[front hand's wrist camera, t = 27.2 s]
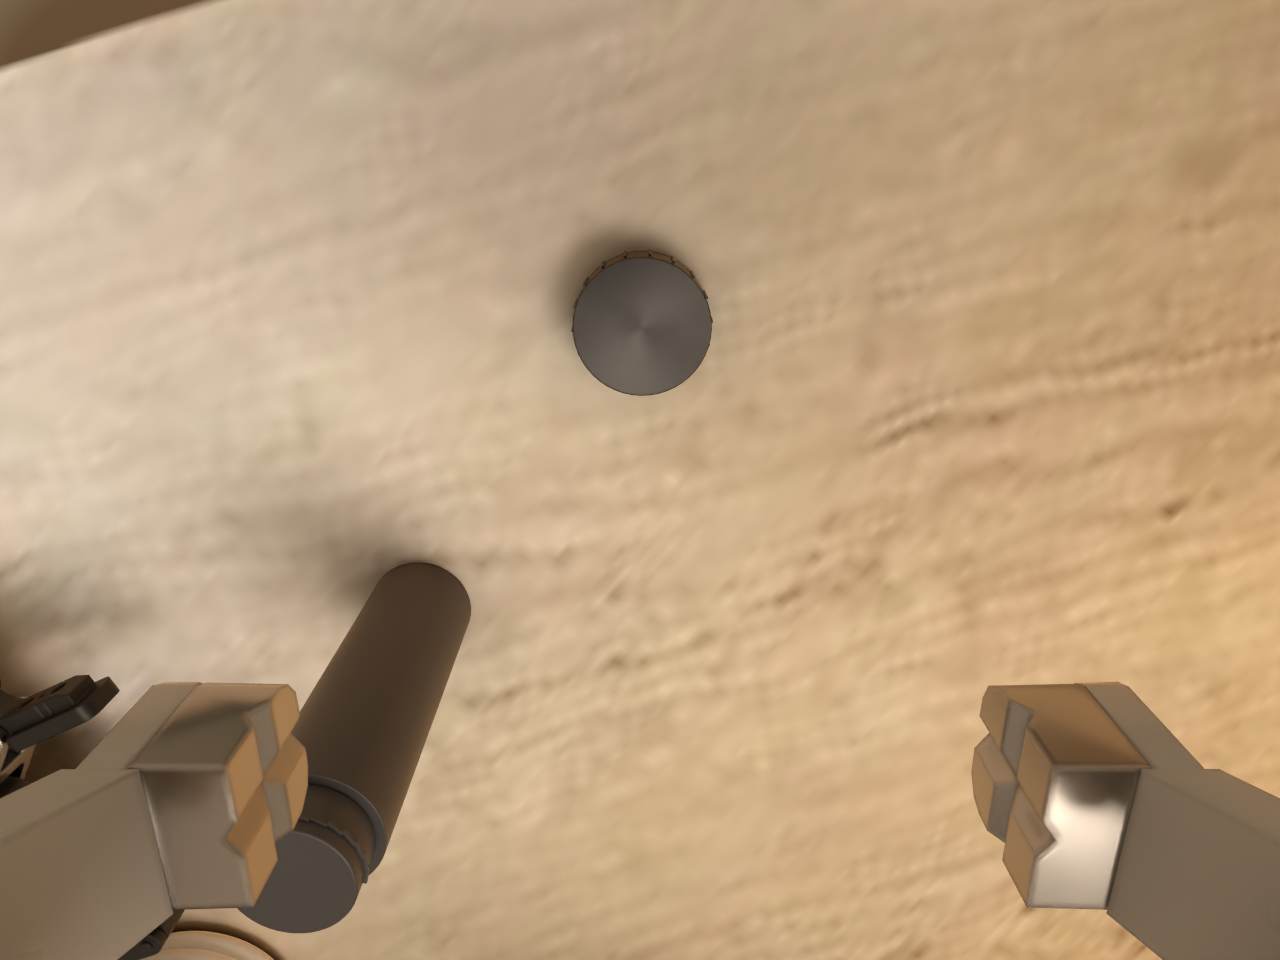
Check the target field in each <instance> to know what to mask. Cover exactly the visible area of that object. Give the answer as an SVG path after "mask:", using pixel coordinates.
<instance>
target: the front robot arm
mask: <svg viewBox="0 0 1280 960" xmlns="http://www.w3.org/2000/svg"><path fill="white" fill-rule="evenodd" d="M299 717H300V711H299V706H298V701H297V696H296V692H295V691H294V690H293V689H292V688H291V687H290V686H289V685H288V684H246V683H204V684H203V683H200V682H177V683H161V684H157V685H153V686H152V687H151V688H150V689H149V690H148V691H147V692H146V693H145V694H144V695H143V696H142V697H141V698H140V700H139V701H138V702H137V703H136V704H135V705H134V706H133V707H132V708H131V709H130V710H129V711H128V713H127V714H126V715H125V716H124V717H123V718H122V719H121V720H120V721H119V722H118V723H117V724H116V726H115V727H114V728H113V729H112V730H111V731H110V732H109V733H108V734H107V735H106V736H105V737H104V739H103V740H102V741H101V742H100V743H99V744H98V745H97V746H96V747H95V748H94V749H93V750H92V752H91V753H90V754H89V755H88V756H87V757H86V758H85V759H84V760H83V761H82V762H81V763H80V764H79V766H78V767H77V768H76V769H60V770H58V771H56V772H54V773H52V774H50V775H48V776H46V777H44V778H42V779H40V780H38V781H35V782H33V783H31V784H29V785H27V786H25V787H23V788H21V789H19V790H17V791H15V792H13V793H11V794H9V795H6V796H4V797H2V798H0V960H118V959H119V958H120V957H121V956H123V955H124V954H125V953H126V952H127V951H129V950H130V949H131V948H132V947H134V946H135V945H136V944H137V943H138V942H140V941H141V940H142V939H143V938H144V937H146V936H147V935H148V934H149V933H151V932H152V931H153V930H154V929H155V928H157V927H158V926H159V925H160V924H162V923H163V922H164V921H165V920H166V919H168V918H169V917H170V916H171V915H172V914H173V910H176V909H211V908H245V907H254V905H255V903H256V901H257V899H258V897H259V895H260V893H261V891H262V889H263V888H264V886H265V884H266V882H267V880H268V878H269V876H270V874H271V872H272V870H273V868H274V866H275V864H276V862H277V861H278V859H277V853H276V847H275V842H277V841H278V840H280V839H281V838H283V837H284V836H286V835H287V834H288V833H290V832H291V831H293V829H294V827H295V825H296V823H297V821H298V819H299V817H300V815H301V813H302V810H303V805H304V801H305V796H306V792H307V787H308V762H307V755H306V748H305V747H304V746H303V745H302V744H301V743H300V742H299V741H298V740H297V739H296V738H295V737H294V736H293V735H292V734H291V731H292V729H293V728H294V726H295V724H296V723H297V721H298V719H299ZM980 717H981V719H982V721H983V723H984V724H985V726H986V728H987V729H988V731H989V734H988V735H987V736H986V737H985V738H984V739H983V740H982V741H981V742H980V743H979V744H978V745H977V746H976V747H975V748H974V756H973V764H972V783H973V793H974V799H975V802H976V805H977V809H978V812H979V815H980V817H981V819H982V821H983V823H984V825H985V827H986V829H987V831H989V832H990V833H992V834H993V835H994V836H996V837H997V838H999V839H1000V840H1002V841H1003V842H1005V847H1004V853H1003V859H1002V861H1003V863H1004V864H1005V866H1006V868H1007V870H1008V872H1009V874H1010V876H1011V878H1012V880H1013V882H1014V884H1015V886H1016V887H1017V889H1018V891H1019V893H1020V895H1021V897H1022V899H1023V901H1024V903H1025V905H1026V907H1032V908H1068V909H1103V910H1107V914H1108V915H1109V916H1110V917H1112V918H1113V919H1114V920H1115V921H1116V922H1118V923H1119V924H1120V925H1121V926H1123V927H1124V928H1125V929H1126V930H1127V931H1129V932H1130V933H1131V934H1132V935H1133V936H1135V937H1136V938H1137V939H1138V940H1140V941H1141V942H1142V943H1143V944H1144V945H1146V946H1147V947H1148V948H1149V949H1150V950H1152V951H1153V952H1154V953H1155V954H1157V955H1158V956H1159V957H1160V958H1161V959H1163V960H1280V798H1278V797H1275V796H1273V795H1271V794H1269V793H1267V792H1265V791H1263V790H1261V789H1259V788H1257V787H1255V786H1253V785H1251V784H1249V783H1247V782H1244V781H1242V780H1240V779H1238V778H1236V777H1234V776H1232V775H1230V774H1228V773H1226V772H1224V771H1222V770H1220V769H1204V768H1203V767H1202V766H1201V765H1200V763H1199V762H1198V761H1197V760H1196V759H1195V758H1194V757H1193V756H1192V755H1191V754H1190V753H1189V751H1188V750H1187V749H1186V748H1185V747H1184V746H1183V745H1182V744H1181V743H1180V742H1179V741H1178V740H1177V738H1176V737H1175V736H1174V735H1173V734H1172V733H1171V732H1170V731H1169V730H1168V729H1167V728H1166V727H1165V725H1164V724H1163V723H1162V722H1161V721H1160V720H1159V719H1158V718H1157V717H1156V716H1155V715H1154V714H1153V712H1152V711H1151V710H1150V709H1149V708H1148V707H1147V706H1146V705H1145V704H1144V703H1143V702H1142V701H1141V699H1140V698H1139V697H1138V696H1137V695H1136V694H1135V693H1134V692H1133V691H1132V690H1131V689H1130V688H1129V687H1128V686H1126V685H1124V684H1121V683H1119V682H1098V683H1075V684H1047V685H998V686H988V688H987V690H986V692H985V694H984V696H983V699H982V705H981V711H980Z"/></svg>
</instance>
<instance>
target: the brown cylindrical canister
mask: <svg viewBox="0 0 1280 960" xmlns="http://www.w3.org/2000/svg"><path fill="white" fill-rule="evenodd" d="M470 616H471V605H470V600H469V597H468V594H467V592H466V590H465V588H464V587H463V586H462V584H461V583H460V582H459V581H458V580H457V579H456V578H455V577H454V576H453V575H452V574H450V573H449V572H447V571H446V570H444V569H442V568H440V567H437V566H434V565H430V564H424V563H411V564H405V565H402V566H399V567H396V568H394V569H393V570H391V571H389V572H388V573H387V574H385V575H384V576H383V577H382V578H381V580H380V581H379V583H378V584H377V586H376V587H375V589H374V591H373V592H372V594H371V596H370V597H369V599H368V601H367V602H366V604H365V605H364V607H363V609H362V610H361V612H360V614H359V615H358V617H357V619H356V620H355V622H354V624H353V625H352V627H351V629H350V630H349V632H348V633H347V635H346V637H345V638H344V640H343V642H342V643H341V645H340V647H339V648H338V650H337V652H336V653H335V655H334V657H333V658H332V660H331V661H330V663H329V665H328V666H327V668H326V670H325V671H324V673H323V675H322V676H321V678H320V680H319V681H318V683H317V685H316V686H315V688H314V689H313V691H312V693H311V694H310V696H309V698H308V699H307V701H306V703H305V704H304V706H303V708H302V709H301V711H300V717H299V719H298V721H297V723H296V724H295V726H294V728H293V729H292V731H291V734H292V735H293V736H294V737H295V738H296V739H297V740H298V741H299V742H300V743H301V744H302V745H303V746H304V747H305V748H306V755H307V762H308V787H307V792H306V796H305V801H304V805H303V810H302V813H301V815H300V817H299V819H298V821H297V823H296V825H295V827H294V829H293V831H291V832H290V833H288V834H287V835H286V836H284V837H283V838H281V839H280V840H278V841H277V842H275V847H276V853H277V859H278V861H277V862H276V864H275V866H274V868H273V870H272V872H271V874H270V876H269V878H268V880H267V882H266V884H265V886H264V888H263V889H262V891H261V893H260V895H259V897H258V899H257V901H256V903H255V905H254V907H245V908H238V909H239V910H240V911H241V912H242V913H243V914H244V915H245V916H247V917H248V918H250V919H251V920H253V921H254V922H256V923H258V924H260V925H262V926H265V927H267V928H270V929H274V930H277V931H282V932H288V933H310V932H315V931H320V930H323V929H326V928H328V927H330V926H332V925H334V924H336V923H337V922H339V921H340V920H341V919H343V918H344V917H345V916H346V915H347V914H348V913H349V911H350V910H351V909H352V907H353V906H354V904H355V901H356V899H357V896H358V893H359V891H360V888H361V885H362V883H367V881H368V876H369V875H370V874H371V873H372V872H373V871H374V870H375V869H376V868H377V867H378V865H379V864H380V862H381V860H382V859H383V856H384V854H385V851H386V849H387V846H388V843H389V840H390V838H391V835H392V832H393V829H394V827H395V824H396V821H397V818H398V816H399V813H400V810H401V807H402V805H403V802H404V799H405V796H406V794H407V791H408V788H409V785H410V783H411V780H412V777H413V774H414V772H415V769H416V766H417V763H418V761H419V758H420V755H421V752H422V750H423V747H424V744H425V741H426V739H427V736H428V733H429V731H430V728H431V725H432V722H433V720H434V717H435V714H436V711H437V709H438V706H439V703H440V700H441V698H442V695H443V692H444V689H445V687H446V684H447V681H448V678H449V676H450V673H451V670H452V667H453V665H454V662H455V659H456V656H457V654H458V651H459V648H460V645H461V643H462V640H463V637H464V634H465V632H466V629H467V626H468V623H469V620H470Z"/></svg>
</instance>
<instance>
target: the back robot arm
mask: <svg viewBox="0 0 1280 960" xmlns="http://www.w3.org/2000/svg"><path fill="white" fill-rule="evenodd" d="M0 688H1V680H0ZM118 692H119V689H118V687H117V686H116V685H115V684H114V682H113V681H112V680H111V679H110V677H105V678H103V679H101V680H99V681H96V682H94V681H93V680H92V678H91V677H90V676H89V675H79V676H74V677H72V678H69V679H67V680H65V681H64V682H61V683H58V684H57V685H54V686H52V687H50V688H48V689H45V690H43V691H41V692H39V693H37V694H34V695H32V696H30V697H18V698H16V697H12V696H10V695H8V694H7V693H5V692H4V691H2V690H1V689H0V798H2V797H4V796H6V795H9V794H11V793H13V792H15V791H17V790H19V789H21V788H23V787H25V786H27V785H29V784H31V783H30V782H28V781H26V780H24V779H25V776H26V773H27V770H28V767H29V764H30V761H31V758H32V755H33V752H34V749H35V746H36V744H38V743H40V742H42V741H44V740H46V739H49V738H51V737H53V736H55V735H58V734H60V733H62V732H64V731H67V730H69V729H71V728H73V727H76V726H78V725H80V724H82V723H84V722H86V721H88V720H90V719H91V718H93V717H94V716H95V715H97V714H98V713H99V712H100V711H101V710H102V709H103V708H104V707H105V706H106V705H107V704H108V703H109V702H110V701H111V700H112V699H113V697H114V696H115V695H116V694H117V693H118ZM184 910H185V909H176V910H173V914H172V915H171V916H170V917H169V918H168V919H166V920H165V921H164V922H163V923H162V924H160V925H159V926H158V927H157V928H155V929H154V930H153V931H152V932H151V933H149V934H148V935H147V936H146V937H144V938H143V939H142V940H141V941H140V942H138V943H137V944H136V945H135V946H134V947H132V948H131V949H130V950H129V951H127V952H126V953H125V954H124V955H123V956H121V957H120V958H119V959H118V960H140V959H143V958H147V957H150V956H153V955H155V954H157V953H159V952H160V950H161V949H162V947H163V945H164V944H165V942H166V940H167V939H168V937H169V935H170V934H171V932H172V930H173V929H174V927H175V925H176V924H177V922H178V920H179V919H180V917H181V915H182V913H183V912H184Z"/></svg>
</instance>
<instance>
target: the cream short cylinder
mask: <svg viewBox="0 0 1280 960" xmlns="http://www.w3.org/2000/svg"><path fill="white" fill-rule="evenodd" d="M140 960H274V959H273V958H272V957H270V956H269V955H268V954H267V953H265V952H264V951H262V950H261V949H259V948H258V947H256V946H254V945H252V944H250V943H248V942H246V941H244V940H241V939H239V938H236V937H233V936H229V935H226V934H221V933H217V932H209V931H181V932H174V933H171V934H170V935H169V937H168V939H167V940H166V942H165V944H164V945H163V947H162V949H161V950H160V952H159V953H157V954H155V955H153V956H150V957H147V958H143V959H140Z"/></svg>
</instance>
